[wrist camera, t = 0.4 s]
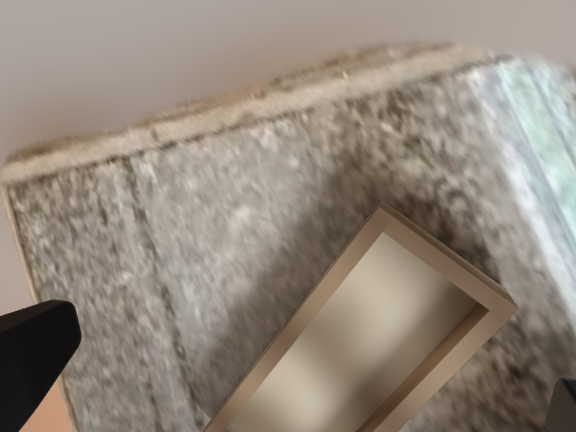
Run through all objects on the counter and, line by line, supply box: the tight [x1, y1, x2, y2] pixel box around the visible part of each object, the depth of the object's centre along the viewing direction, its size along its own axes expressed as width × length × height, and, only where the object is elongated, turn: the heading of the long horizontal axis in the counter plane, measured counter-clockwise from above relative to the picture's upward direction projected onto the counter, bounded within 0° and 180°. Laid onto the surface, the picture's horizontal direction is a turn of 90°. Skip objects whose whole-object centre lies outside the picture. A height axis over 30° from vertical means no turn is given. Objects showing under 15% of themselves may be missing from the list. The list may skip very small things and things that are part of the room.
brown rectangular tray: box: [203, 200, 519, 432], centre depth 22 cm, size 17×7×2 cm, turn 145°
